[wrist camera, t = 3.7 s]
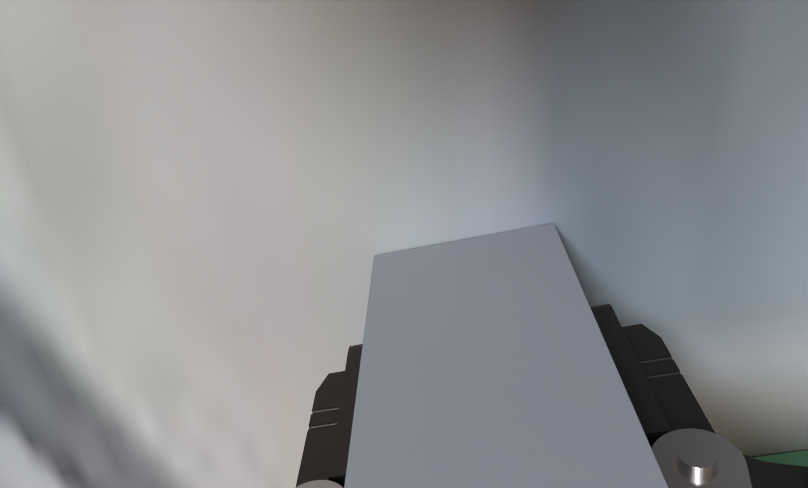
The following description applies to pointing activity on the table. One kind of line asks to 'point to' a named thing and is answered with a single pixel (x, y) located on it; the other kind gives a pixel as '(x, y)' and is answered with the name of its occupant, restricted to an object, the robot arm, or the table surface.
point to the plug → (490, 374)
